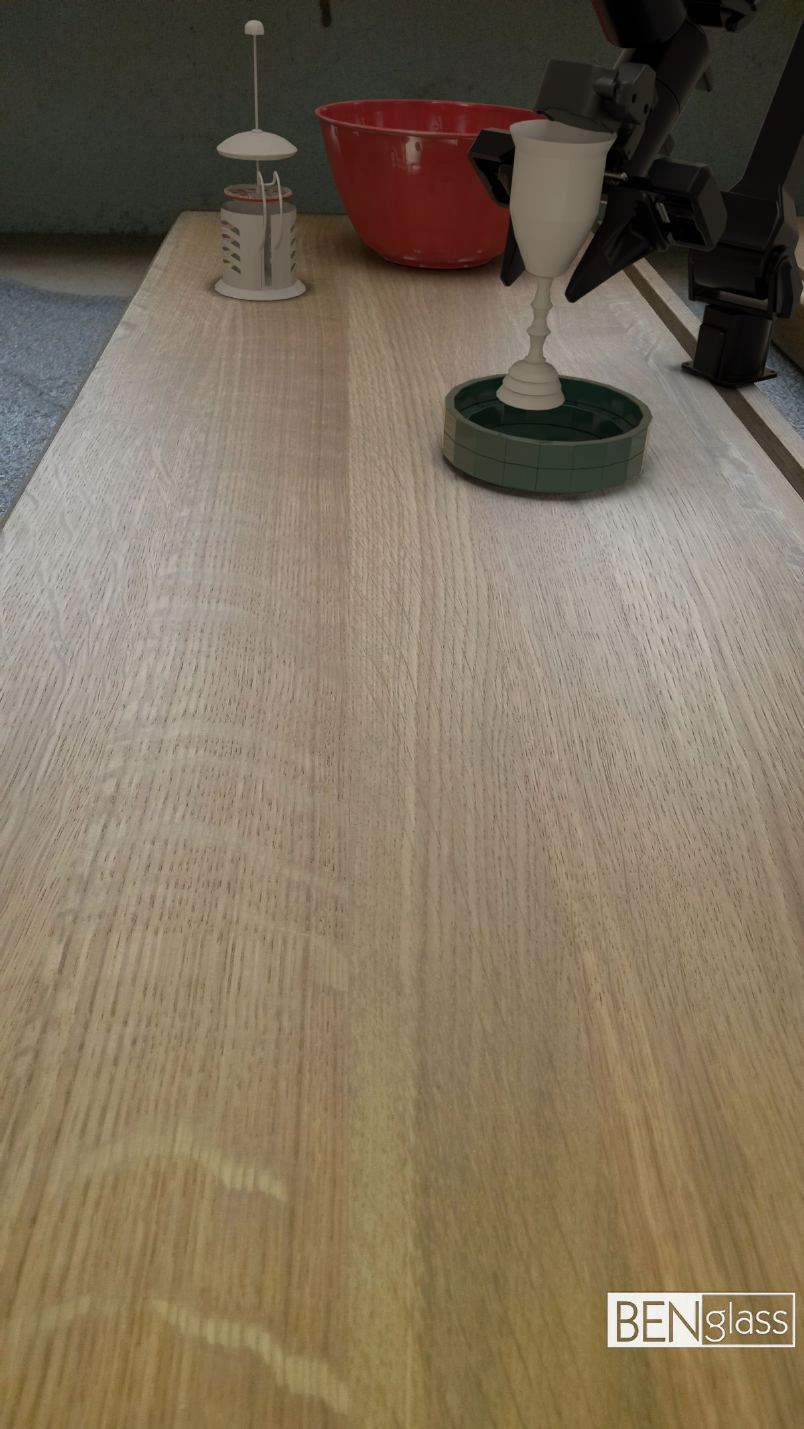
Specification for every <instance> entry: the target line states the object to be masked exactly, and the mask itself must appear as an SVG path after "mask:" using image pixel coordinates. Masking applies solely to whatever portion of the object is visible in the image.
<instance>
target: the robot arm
mask: <svg viewBox="0 0 804 1429" xmlns="http://www.w3.org/2000/svg"><path fill="white" fill-rule="evenodd" d="M769 2H770V0H590V3H591V5H592V8H593V10H594V12H595V15H596V18H597V21H598V23H599V26H600V29H601V31H602V33H603V36H604V37H605V39H606V41H607V42H608V43H610V44H611V45H612V46H614V47H618V48H620V49H622V51H621V53H620V54H619V57H618V58H617V60H616V61H615V64H614V65H613V67H612V68H608V67H605V66H602V65H599V64H596V63H595V64H594V63H588V62H581V61H573V60H572V61H571V60H566V59H557V58H550V59H548V60H547V62H546V66H545V69H544V72H543V75H542V78H541V80H540V85H539V88H538V91H537V94H536V97H535V99H534V100H535V101H534V103H533V107H532V111H533V112H534V113H535V114H537V115H543V116H544V117H545V118H547V119H548V120H550V121H552V122H553V121H557V122H560V123H563V124H566V125H569V126H572V127H576V128H580V129H583V130H588V131H594V132H604V133H611V134H613V133H614V132H616V133H617V138H616V140H615V141H614V143H613V144H612V146H611V148H610V149H609V151H608V153H607V156H606V163H605V170H604V177H603V184H602V191H601V198H600V203H602V204H606V205H605V209H604V215H603V218H602V221H601V223H600V225H599V226H598V227H597V229H596V232H595V233H594V235H593V237H592V238H591V240H590V242H589V244H588V246H587V247H586V249H585V251H584V253H583V255H582V256H581V258H580V259H579V262H578V264H577V265H576V267H575V269H574V270H573V272H572V275H571V277H570V279H569V281H568V283H567V285H566V287H565V290H564V297H565V299H566V301H567V302H568V303H570V304H575V303H576V302H578V301H579V300H581V299H583V297H585V296H586V295H587V294H589V293H591V292H592V291H594V290H595V289H597V288H598V287H600V286H601V285H603V283H605V282H607V281H608V280H609V279H611V278H612V277H614V276H615V275H617V274H618V273H619V272H622V271H624V270H625V269H627V268H628V267H630V266H632V265H633V264H635V263H637V262H638V261H640V260H642V259H644V258H646V257H647V256H649V255H651V254H652V253H655V252H658V253H659V252H660V253H665V252H667V251H668V249H669V247H670V245H671V244H670V241H669V238H668V236H669V235H670V234H671V237H672V240H673V242H674V245H676V246H681V247H685V248H688V249H689V250H688V255H687V292H688V296H687V298H688V299H687V300H688V301H690V302H697V303H698V302H699V303H702V304H705V305H704V309H703V315H702V321H701V323H700V324H699V328H698V333H697V339H696V345H695V349H694V356H693V360H692V359H691V360H688V361H684V362H683V361H682V362H681V364H680V369H681V370H683V371H685V372H689V373H691V374H694V375H696V376H699V377H702V378H704V379H706V380H709V381H711V382H714V383H717V384H719V385H722V386H724V387H727V388H731V389H733V388H734V389H735V388H738V387H739V388H740V387H743V386H746V385H752V384H756V383H760V382H766V381H769V380H773V379H777V378H778V375H779V371H777V370H775V369H772V368H769V367H766V365H767V361H768V355H769V350H770V345H771V341H772V337H773V332H774V328H775V323H776V322H775V321H776V320H778V319H788V320H789V319H792V318H794V314H795V312H796V311H797V308H798V305H799V304H800V303H801V298H802V294H803V292H804V283H803V279H802V276H801V275H802V274H801V272H800V269H799V268H800V267H799V265H798V261H797V260H798V259H797V257H796V250H797V247H798V243H799V240H800V230H799V225H798V224H799V223H798V218H797V212H796V206H795V199H796V197H797V193H798V191H799V189H800V185H801V183H802V180H803V178H804V15H803V16H802V19H801V22H800V24H799V26H798V29H797V31H796V34H795V37H794V40H793V43H792V45H791V48H790V50H789V53H788V56H787V58H786V61H785V63H784V66H783V69H782V71H781V74H780V76H779V80H778V82H777V84H776V87H775V89H774V91H773V94H772V97H771V100H770V102H769V105H768V108H767V111H766V113H765V116H764V118H763V121H762V123H761V126H760V129H759V131H758V134H757V136H756V139H755V141H754V144H753V147H752V150H751V152H750V155H749V157H748V160H747V163H746V166H745V168H744V170H743V173H742V175H741V178H740V179H739V180H738V181H737V182H736V183H735V184H733V185H732V187H730V188H729V189H728V190H723V189H722V190H721V189H720V187H719V185H718V184H719V183H718V181H717V178H716V175H715V173H714V170H713V167H712V165H711V164H707V163H702V162H697V161H696V162H695V161H690V160H684V159H678V158H673V157H670V156H671V154H672V152H673V150H674V149H675V147H676V142H675V139H674V136H673V134H672V131H673V129H674V128H675V126H676V125H677V122H678V121H679V118H680V117H681V115H682V113H683V111H684V109H685V108H686V106H687V104H688V102H689V101H690V99H691V97H692V95H693V93H694V92H701V93H710V92H712V91H713V90H714V87H715V78H716V77H715V72H714V68H713V65H712V56H713V52H712V49H711V47H710V44H709V39H708V36H707V33H706V32H705V31H713V32H722V33H731V34H739V33H741V32H742V31H745V29H747V28H748V27H749V25H750V24H751V23H752V22H753V21H754V20H755V18H756V17H757V16H758V15H759V13H760V12H761V11H762V10H763V9H764V8H765V7H766V5H768V3H769ZM515 148H516V147H515V144H514V141H513V138H512V135H511V132H510V130H504V129H498V128H493V127H492V128H486V129H481V131H480V132H479V134H478V135H477V137H476V138H475V140H474V142H473V144H472V146H471V147H470V149H469V151H468V153H467V154H466V156H467V158H468V160H469V161H470V163H471V165H472V167H473V168H474V170H475V172H476V174H477V175H478V177H479V179H480V181H481V182H482V184H483V186H484V188H485V190H486V191H487V193H488V195H489V197H490V198H491V200H492V201H493V202H494V203H495V204H497V205H498V206H500V207H502V208H506V209H509V208H510V197H511V187H512V178H513V168H514V158H515ZM658 156H660V158H658ZM647 176H648V177H647ZM525 270H526V268H525V265H524V262H523V259H522V256H521V253H520V250H519V247H518V244H517V241H516V238H515V234H514V229H513V224H512V219H511V214H510V217H509V226H508V232H507V238H506V244H505V250H504V251H503V256H502V262H501V267H500V274H499V278H500V279H499V280H500V281H501V283H502V284H503V286H504V287H508V288H509V287H511V286H512V285H513V284H514V283H515V282H516V281H517V279H519V277H521V276H522V274H523V273H524V272H525Z"/></svg>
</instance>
